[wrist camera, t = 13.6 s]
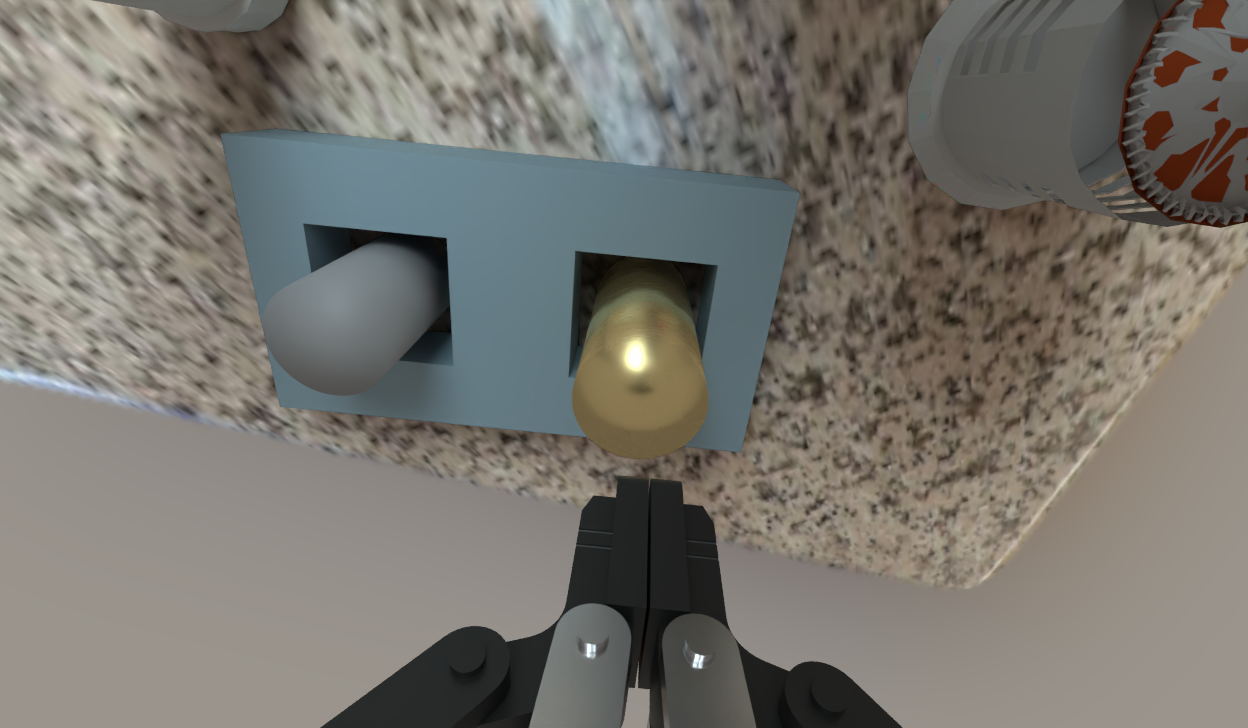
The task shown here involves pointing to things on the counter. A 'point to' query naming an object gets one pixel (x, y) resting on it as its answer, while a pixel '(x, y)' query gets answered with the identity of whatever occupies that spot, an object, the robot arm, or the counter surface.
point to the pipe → (213, 13)
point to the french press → (1088, 106)
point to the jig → (486, 273)
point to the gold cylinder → (641, 363)
